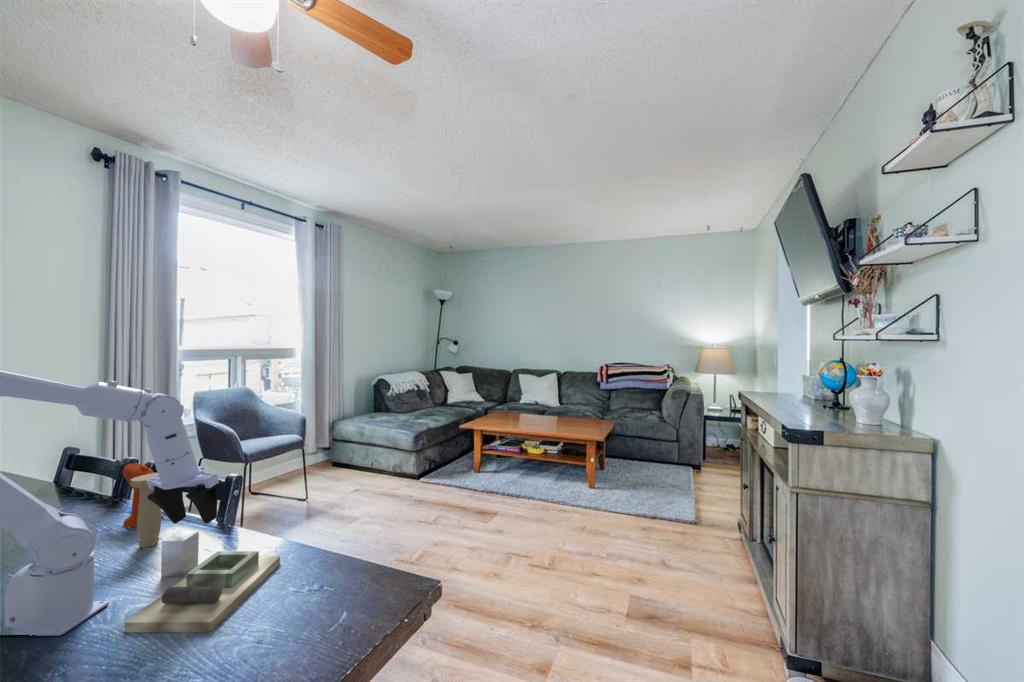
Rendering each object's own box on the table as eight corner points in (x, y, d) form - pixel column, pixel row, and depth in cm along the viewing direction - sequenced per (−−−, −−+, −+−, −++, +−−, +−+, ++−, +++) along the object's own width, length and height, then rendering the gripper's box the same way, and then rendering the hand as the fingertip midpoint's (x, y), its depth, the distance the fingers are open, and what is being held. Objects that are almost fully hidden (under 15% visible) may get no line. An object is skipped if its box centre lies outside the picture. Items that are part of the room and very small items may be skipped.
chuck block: (124, 632, 64) (125, 605, 64) (214, 564, 84) (214, 544, 84) (210, 631, 64) (211, 605, 64) (279, 563, 84) (280, 543, 84)
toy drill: (124, 503, 111) (129, 448, 111) (159, 527, 102) (164, 467, 102) (100, 509, 107) (105, 452, 106) (133, 535, 98) (139, 472, 97)
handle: (172, 540, 94) (173, 473, 94) (138, 554, 88) (139, 482, 88) (158, 537, 95) (160, 471, 96) (124, 549, 89) (125, 479, 90)
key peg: (161, 578, 79) (161, 540, 79) (177, 567, 83) (178, 531, 83) (182, 578, 79) (183, 540, 79) (198, 567, 83) (198, 531, 83)
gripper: (223, 443, 80) (243, 507, 83) (165, 447, 83) (185, 508, 86) (189, 462, 73) (211, 530, 76) (126, 465, 77) (150, 530, 79)
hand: (195, 520), depth 81 cm, fingers open, 7 cm apart
